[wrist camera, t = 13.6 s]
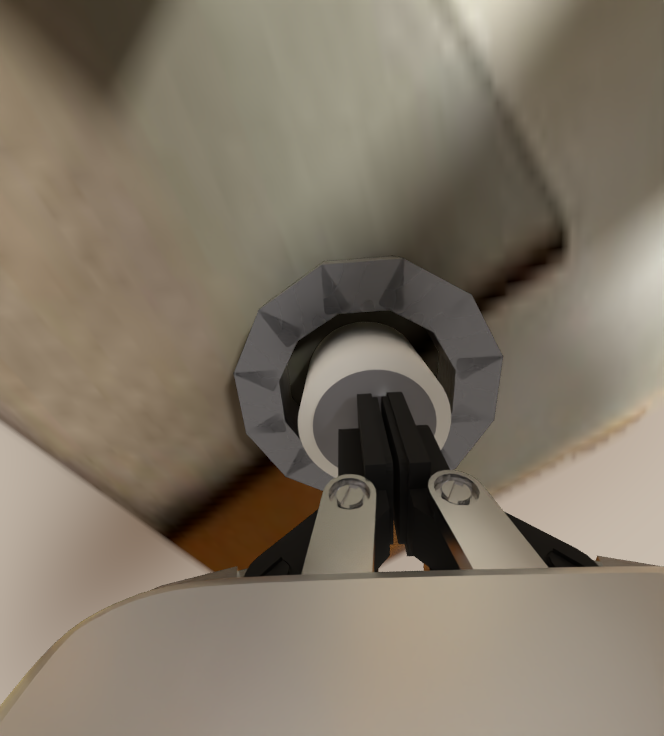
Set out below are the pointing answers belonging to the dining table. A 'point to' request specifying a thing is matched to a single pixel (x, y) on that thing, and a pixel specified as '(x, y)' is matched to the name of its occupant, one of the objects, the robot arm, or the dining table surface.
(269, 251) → the dining table surface
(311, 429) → the white short cylinder
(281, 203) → the dining table surface
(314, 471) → the gray notched ring
